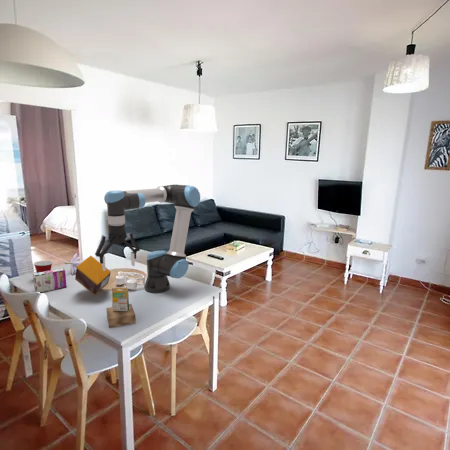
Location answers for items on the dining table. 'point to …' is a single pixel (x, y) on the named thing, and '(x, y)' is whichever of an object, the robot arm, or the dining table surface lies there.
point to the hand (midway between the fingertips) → (118, 267)
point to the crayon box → (120, 299)
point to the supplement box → (92, 275)
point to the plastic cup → (43, 266)
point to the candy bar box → (49, 280)
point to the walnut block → (120, 317)
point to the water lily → (74, 263)
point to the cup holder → (130, 280)
